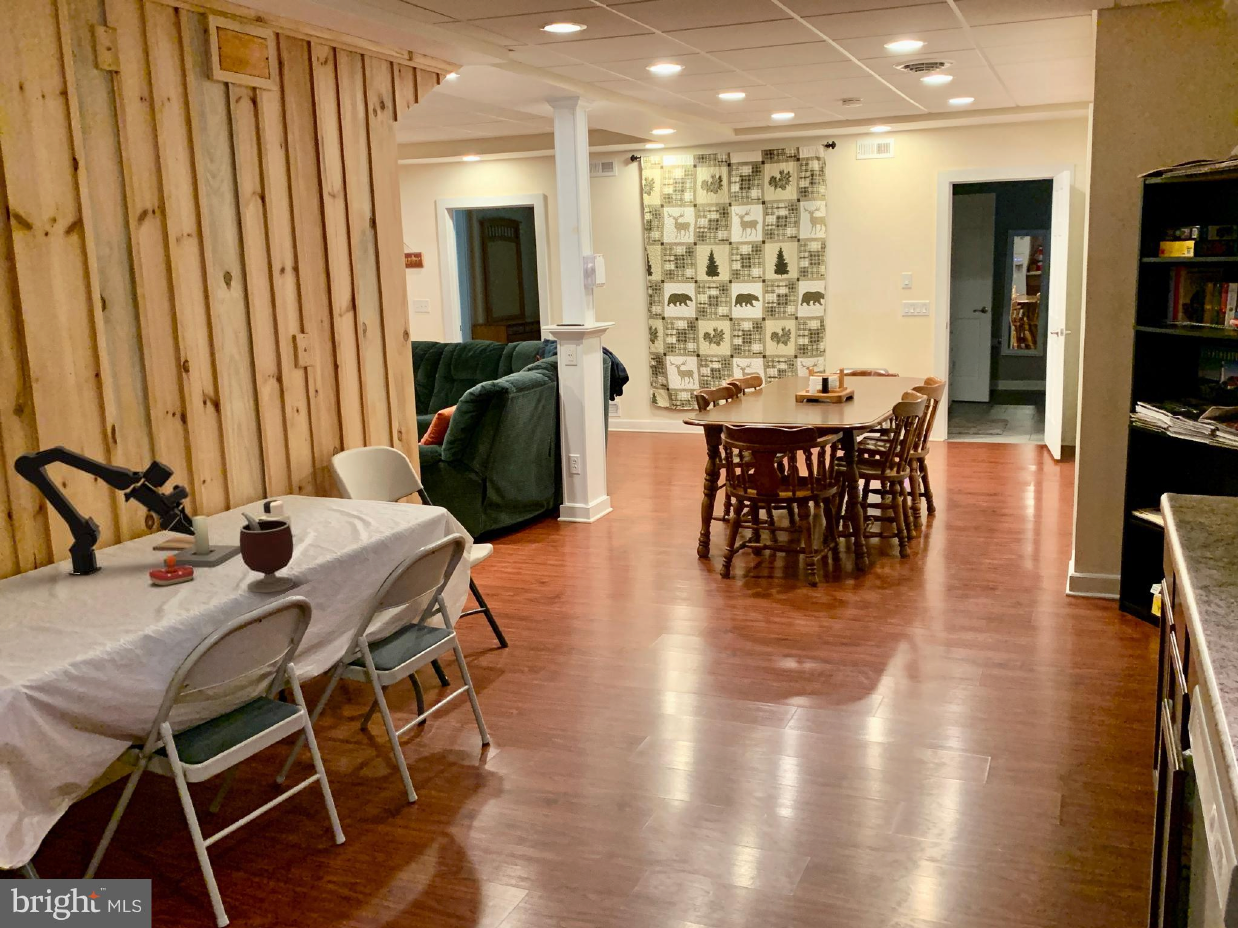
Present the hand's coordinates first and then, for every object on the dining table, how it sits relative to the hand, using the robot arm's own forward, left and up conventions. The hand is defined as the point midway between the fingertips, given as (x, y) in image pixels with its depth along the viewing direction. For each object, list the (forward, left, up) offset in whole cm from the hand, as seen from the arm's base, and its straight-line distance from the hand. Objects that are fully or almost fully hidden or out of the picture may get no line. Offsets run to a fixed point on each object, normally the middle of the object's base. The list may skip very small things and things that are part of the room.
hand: (195, 531), depth 323 cm
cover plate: (+1, -1, -9) cm, 9 cm away
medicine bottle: (+26, -12, -9) cm, 30 cm away
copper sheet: (+15, +15, -9) cm, 23 cm away
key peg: (+1, -1, -9) cm, 9 cm away
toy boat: (-21, -4, -9) cm, 23 cm away
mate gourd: (-22, -34, -9) cm, 42 cm away
